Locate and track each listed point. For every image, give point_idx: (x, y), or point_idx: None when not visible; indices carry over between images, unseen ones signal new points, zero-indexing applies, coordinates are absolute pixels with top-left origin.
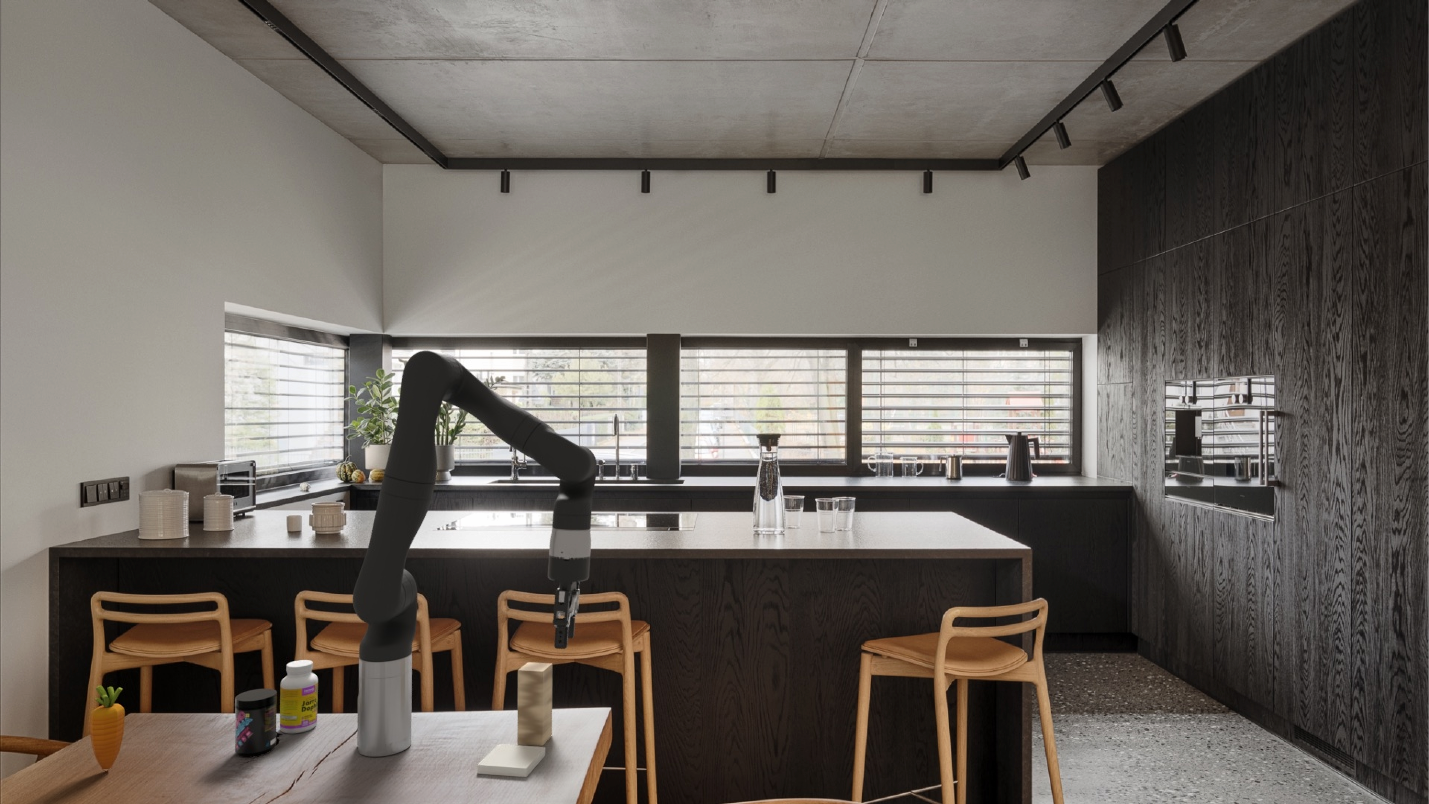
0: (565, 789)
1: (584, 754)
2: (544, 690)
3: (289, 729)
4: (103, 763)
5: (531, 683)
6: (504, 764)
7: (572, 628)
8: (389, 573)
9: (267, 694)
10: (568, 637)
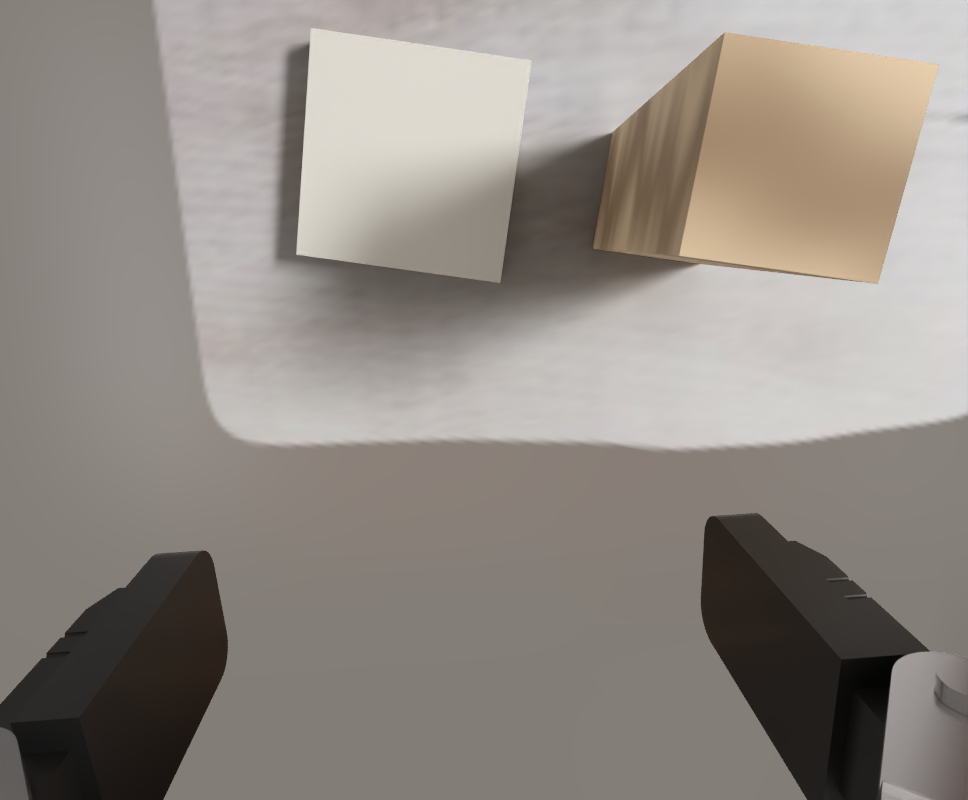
0: (229, 414)
1: (513, 428)
2: (669, 256)
3: None
4: None
5: (672, 168)
6: (324, 151)
7: (748, 686)
8: None
9: None
10: (707, 579)
